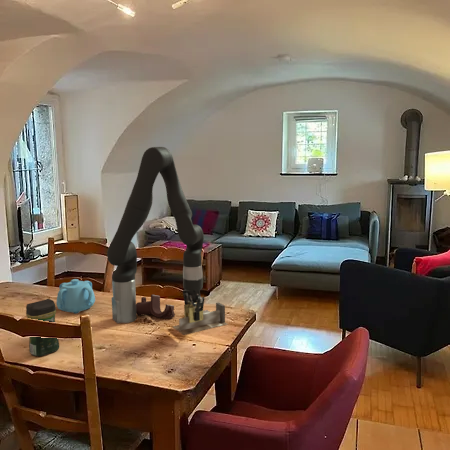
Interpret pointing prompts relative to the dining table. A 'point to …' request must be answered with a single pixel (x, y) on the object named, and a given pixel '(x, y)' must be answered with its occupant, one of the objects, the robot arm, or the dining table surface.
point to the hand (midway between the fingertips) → (193, 318)
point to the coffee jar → (46, 313)
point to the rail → (203, 321)
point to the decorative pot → (75, 296)
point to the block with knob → (191, 312)
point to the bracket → (154, 308)
